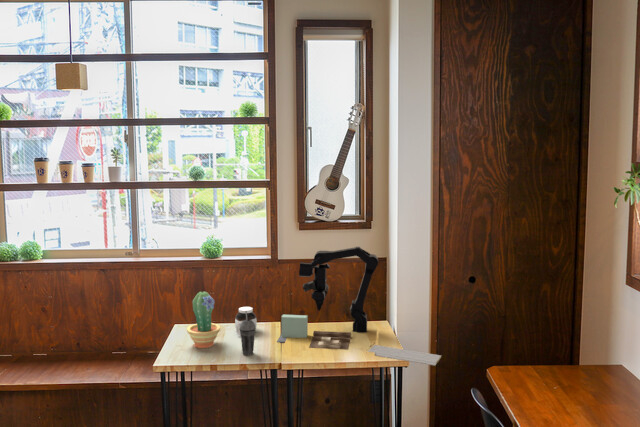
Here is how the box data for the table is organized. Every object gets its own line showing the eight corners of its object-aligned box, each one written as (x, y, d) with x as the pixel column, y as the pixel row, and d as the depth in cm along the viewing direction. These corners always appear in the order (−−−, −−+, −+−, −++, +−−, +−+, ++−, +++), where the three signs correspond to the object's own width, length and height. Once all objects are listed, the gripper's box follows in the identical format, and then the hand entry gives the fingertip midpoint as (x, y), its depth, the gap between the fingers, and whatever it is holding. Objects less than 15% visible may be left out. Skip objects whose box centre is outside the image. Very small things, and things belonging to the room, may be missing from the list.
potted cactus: (187, 351, 270) (185, 297, 267) (186, 340, 285) (185, 288, 282) (222, 348, 274) (221, 295, 271) (219, 337, 289) (218, 286, 286)
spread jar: (252, 327, 304) (252, 305, 303) (261, 334, 295) (261, 311, 293) (229, 331, 298) (229, 308, 297) (238, 338, 289) (238, 314, 287)
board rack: (351, 338, 289) (351, 332, 289) (348, 351, 272) (348, 345, 271) (313, 336, 291) (313, 330, 291) (308, 349, 274) (308, 343, 273)
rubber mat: (311, 332, 297) (311, 331, 297) (306, 343, 281) (306, 342, 281) (283, 331, 298) (283, 330, 298) (276, 342, 283) (276, 341, 283)
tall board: (307, 335, 291) (307, 315, 290) (306, 338, 287) (306, 317, 286) (283, 334, 292) (282, 314, 291) (281, 337, 288) (281, 316, 287)
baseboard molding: (434, 368, 254) (441, 358, 265) (434, 361, 254) (441, 352, 264) (365, 356, 267) (374, 348, 278) (365, 350, 267) (374, 341, 277)
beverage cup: (258, 352, 270) (258, 308, 268) (251, 357, 263) (251, 313, 261) (244, 350, 273) (243, 307, 270) (236, 355, 266) (236, 311, 263)
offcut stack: (340, 345, 277) (340, 337, 277) (339, 348, 273) (339, 340, 273) (318, 344, 279) (318, 336, 278) (317, 347, 275) (317, 339, 274)
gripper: (306, 272, 306) (306, 302, 308) (301, 280, 287) (301, 312, 289) (328, 272, 304) (328, 302, 306) (324, 281, 286) (324, 313, 288)
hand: (320, 307), depth 298 cm, fingers open, 9 cm apart
